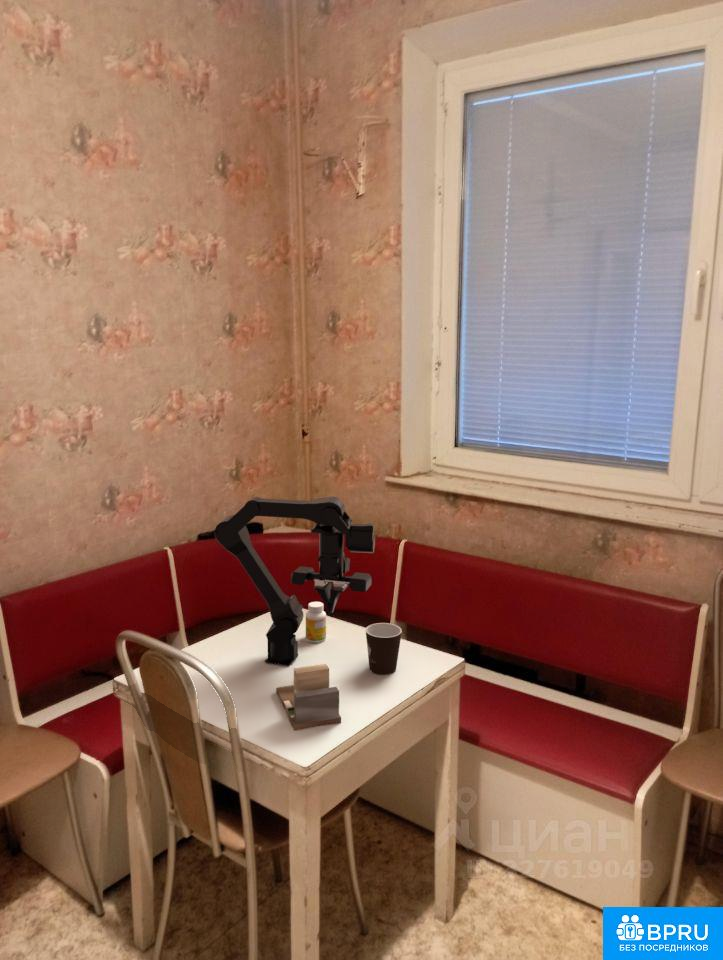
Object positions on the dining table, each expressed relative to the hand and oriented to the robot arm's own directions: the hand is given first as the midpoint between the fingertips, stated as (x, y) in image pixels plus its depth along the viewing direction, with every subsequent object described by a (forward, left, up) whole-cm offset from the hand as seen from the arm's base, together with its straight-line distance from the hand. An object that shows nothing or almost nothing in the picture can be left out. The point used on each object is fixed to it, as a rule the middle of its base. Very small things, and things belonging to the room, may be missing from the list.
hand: (330, 612), depth 174 cm
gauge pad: (+3, -25, -12) cm, 28 cm away
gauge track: (+2, -22, -13) cm, 25 cm away
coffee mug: (+13, +2, -13) cm, 19 cm away
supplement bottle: (-8, +12, -13) cm, 20 cm away
